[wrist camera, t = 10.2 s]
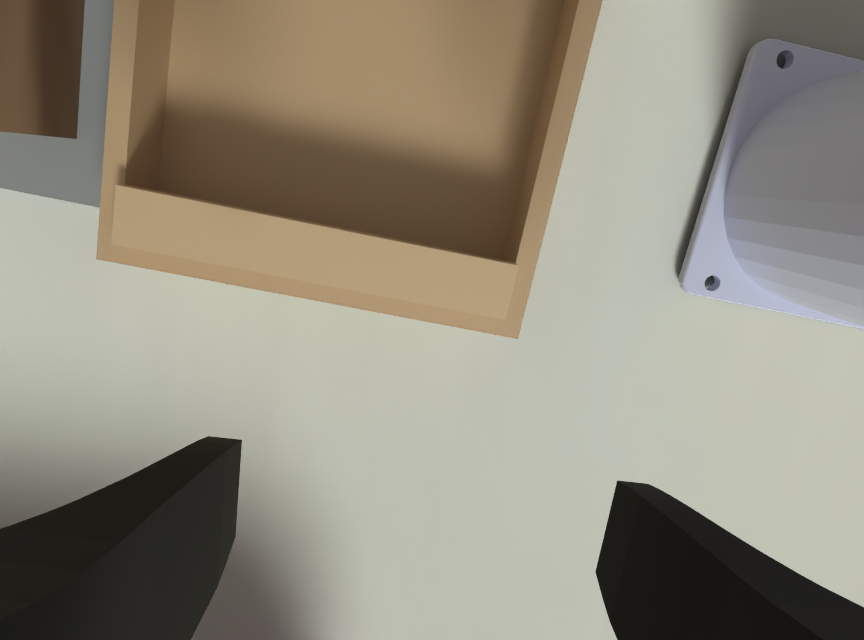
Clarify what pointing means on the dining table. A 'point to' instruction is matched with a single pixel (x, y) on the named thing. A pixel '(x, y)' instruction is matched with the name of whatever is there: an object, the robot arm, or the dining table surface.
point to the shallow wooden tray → (343, 147)
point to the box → (40, 66)
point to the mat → (83, 157)
